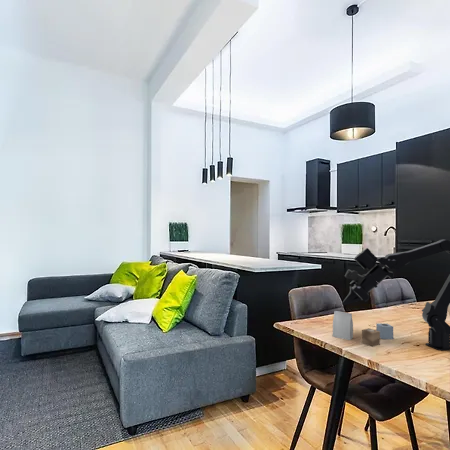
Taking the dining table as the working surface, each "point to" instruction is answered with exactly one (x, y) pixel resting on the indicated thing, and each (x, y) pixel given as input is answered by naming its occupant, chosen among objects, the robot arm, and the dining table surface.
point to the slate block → (385, 330)
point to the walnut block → (371, 337)
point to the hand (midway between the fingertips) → (343, 304)
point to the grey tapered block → (342, 325)
